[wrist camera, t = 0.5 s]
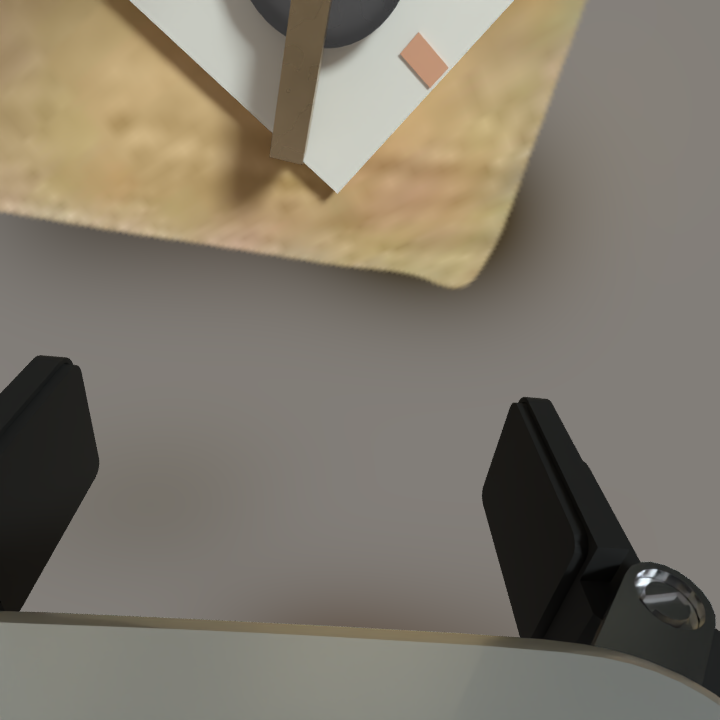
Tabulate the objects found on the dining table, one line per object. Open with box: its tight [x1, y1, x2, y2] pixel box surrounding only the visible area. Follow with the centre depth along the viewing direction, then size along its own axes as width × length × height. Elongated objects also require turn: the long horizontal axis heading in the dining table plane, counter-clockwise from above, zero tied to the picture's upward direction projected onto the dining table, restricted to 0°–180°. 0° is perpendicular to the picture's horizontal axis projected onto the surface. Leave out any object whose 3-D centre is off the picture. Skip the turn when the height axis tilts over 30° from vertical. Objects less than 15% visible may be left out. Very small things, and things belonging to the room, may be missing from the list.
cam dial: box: [251, 0, 400, 165], centre depth 29 cm, size 16×10×5 cm, turn 167°
